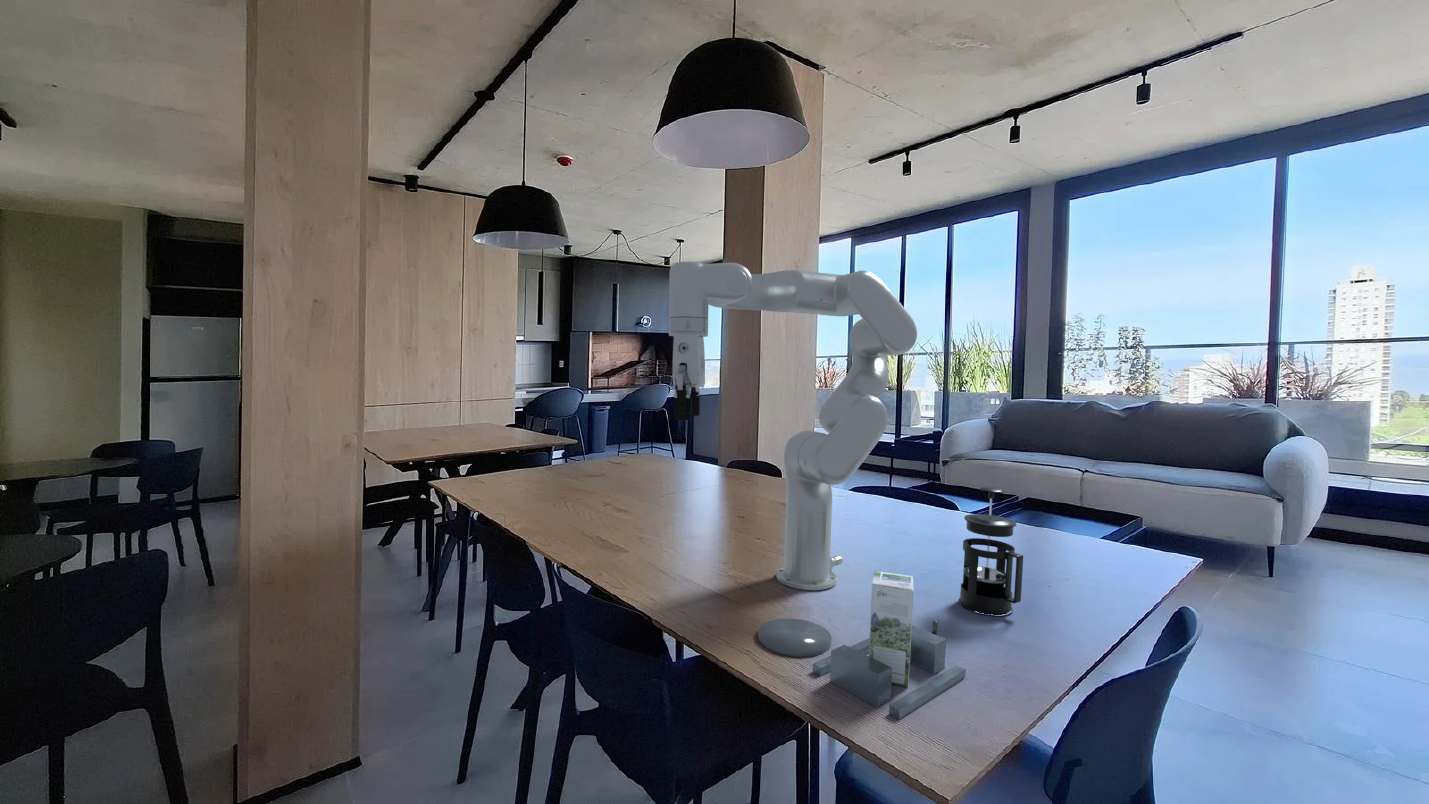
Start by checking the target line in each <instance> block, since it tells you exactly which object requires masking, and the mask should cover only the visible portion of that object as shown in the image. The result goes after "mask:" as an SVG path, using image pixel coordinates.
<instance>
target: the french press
mask: <svg viewBox="0 0 1429 804" xmlns="http://www.w3.org/2000/svg"><path fill="white" fill-rule="evenodd" d="M979 490H980V491H982V492H986V493H988V499H989V513H988V514H985V513H984V514H983V513H981V514H980V513H978V514H977V513H973V514H972V513H971V514H966V515H964V518H963V519H964V521H966V529H967V530H968V531H969V532H971V533H974V534H977V535H982V536H987V538H982V537H981V538H980V537H973V538H972V537H971V538H966V539H964V540H963V542H962V550H963V551H964V559H963V569H962V570H963V575H962V577H963V579H962V580H963V581H962V583H960V592H959V593H960V594H959V599H958V604H959V605H960V604H961V605H962V606H963V608H964V607H965V608H967V609H969V610H971V611H970V612H972V611H977V612H979V613H984V614H990V615H991V614H993V615H1002V614H1007V613H1009V611H1013V610H1014V609H1013V605H1012V604H1017V603H1020V602H1022V587H1023V585H1022V584H1023V571H1024V570H1023V569H1024V567H1023V566H1024V555H1022V554H1021V553H1017V552H1016V548H1015V547H1014V546H1013V545H1011V544H1009V543H1007V542H1004V541H999V540H996V539H991V537H996V538H1008V537H1012V536H1013V535H1014V528H1015V527H1016V526H1017V522H1016V521H1015V520H1013V519H1010V518H1008V517H1004V516H998V515H993V514H992V507H993V499H995V493H996V494H1000V493H1001V494H1002V493H1004V492H1005V490H1003V489H1002V488H998V487H993V486H984V487H980V488H979ZM972 546H987V547H986V548H987V549H986V550H984V549H983V550H982V549H979V548H976V547H972ZM990 547H994V548H996V551H990ZM980 558H984V559H986V564H985V565H986V566H980V565H979V559H980ZM1014 558H1015V560H1016V563H1015V578H1014V594H1013V592H1012V581H1013V580H1012V579H1013V563H1014V562H1013V561H1014ZM990 559H991V560H996V562H995V563H996V565H995V568H992V567H989V565H990V561H989V560H990ZM1013 595H1014V597H1013ZM961 605H960V606H961ZM962 606H961V607H962ZM965 608H964V609H965ZM967 609H966V610H967ZM969 610H968V611H969Z"/></svg>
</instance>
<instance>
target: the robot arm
mask: <svg viewBox="0 0 1429 804" xmlns="http://www.w3.org/2000/svg"><path fill="white" fill-rule="evenodd" d="M668 284H669V288H668V289H669V291H668V292H669V293H668V294H669V295H668V298H669V299H668V301H669V303H668V336H669V337H673V344H672V349H673V350H672V384H673V386H674V394H673V397H674V399H673V419H674V421H690V420H692V416H693V417H696V416H700V413H701V395H700V394H701V393H700V388H702V387H704V386H705V385H706V364H705V363H706V362H705V361H706V359H705V358H706V357H705V342H704V341H705V340H704V338H705V337H706V338H707V337H709V307H710V306H711V307H714V308H720V309H732V310H733V309H734V310H745V311H747V310H748V311H762V312H763V311H764V312H765V311H766V312H774V313H797V314H808V315H819V316H829V317H849V316H856V315H859V316H860V317H861V318H862V319H859V320H857V321H856V322H855V323H854V324H853V326H852V327H851V329H850V333H849V345H850V350H851V355H852V356H851V357H852V362H851V367H850V368H849V370H848V372H847V374H846V375H845V376H844V378H843V379H842V381H841V382H840V383H839V385H838V386H837V387H836V388H835V390H834V391H833V392H832V393H831V395H829V397H828V398H827V399H826V401H825V402H824V403H823V404H822V406H821V408H820V410H819V415H818V421H819V424H820V426H821V428H822V429H823V430H825V432H827V433H828V434H826V433H823V432H819V431H813V430H803V431H799V432H796V433H795V434H794V435H792V436H791V437H790V438H789V439H788V441H787V442H786V444H785V448H784V453H783V463H784V470H785V479H786V505H785V506H786V507H785V532H784V533H785V535H784V558H783V559H784V560H783V561H784V563H783V564H784V565H783V566H782V567H780V568H778V570H777V571H776V579H777V581H778V582H779V583H781V584H782V585H784V586H786V587H790V588H793V589H798V590H802V591H803V590H804V591H821V590H822V591H823V590H827V589H830V588H833V587H835V585H836V584H837V580H838V577H837V575H836V573H834V572H833V568H834V567H835V566H839V565H842V564H843V561H844V560H843V558H842V556H841V555H835V556H831V541H832V539H831V538H832V519H833V518H832V516H833V513H832V512H833V491H832V486H835V485H841V484H843V483H845V482H846V481H848V480H849V479H850V478H851V477H852V476H853V475H854V474H855V473H856V472H857V470H858V469H859V468H860V466H861V465H862V463H864V461H865V460H866V459H867V457H868V456H869V455H870V454H871V452H872V450H873V449H874V448H875V446H876V445H877V444H879V441H880V440H881V438H882V437H883V435H884V433H885V431H886V428H887V424H888V411H887V408H886V406H885V404H884V403H883V401H881V399H880V397H882V395H883V393H884V392H885V390H886V389H887V386H888V383H889V365H888V359H887V356H901V355H903V354H906V353H908V352H909V351H910V350H911V349H913V347H914V345H915V344H916V341H917V338H918V337H917V336H918V331H917V325H916V323H915V321H914V319H913V318H912V316H911V315H910V313H909V312H908V311H907V310H906V309H905V307H904V306H903V305H902V303H901V302H900V301H899V299H898V298H897V297H896V295H894V293H893V292H892V291H891V290H890V289H889V287H888V286H887V285H886V284H885V283H884V282H883V281H882V280H881V279H880V278H879V277H878V276H877V275H875V274H874V273H873V272H871V271H867V270H858V271H854V272H851V273H846V274H835V273H825V272H815V271H807V270H801V269H800V270H799V269H788V270H787V269H786V270H779V271H774V272H768V273H757V274H756V273H751V272H750V271H749V269H748V268H746V267H745V266H744V265H742V264H740V263H737V262H721V263H719V262H718V263H702V262H699V261H698V262H697V261H688V260H687V261H684V260H683V261H677V262H675V263H673V264H672V265H670V268H669V283H668Z"/></svg>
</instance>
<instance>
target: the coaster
mask: <svg viewBox="0 0 1429 804" xmlns="http://www.w3.org/2000/svg"><path fill="white" fill-rule="evenodd" d="M757 631H758V632H757V640H758V642H759V643H760V645H762V646H763V647H764V648H765V649H767V650H769V651H771V652H774V653H776V654H779V655H782V656H788V657H794V658H807V657H816V656H819V655H822V654H824V653H826V652H827V651H828V650H830V649H831V646H832V635H831V633H830V632H829V630H827V629H826V628H825V627H823V626H822V625H820V624H817V623H815V622H814V621H813V622H812V621H809V620H804V619H799V618H790V617H789V618H788V617H787V618H775V619H772V620H768V621H766V622H764V623H762V624H761V625H760V627H758V630H757Z"/></svg>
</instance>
